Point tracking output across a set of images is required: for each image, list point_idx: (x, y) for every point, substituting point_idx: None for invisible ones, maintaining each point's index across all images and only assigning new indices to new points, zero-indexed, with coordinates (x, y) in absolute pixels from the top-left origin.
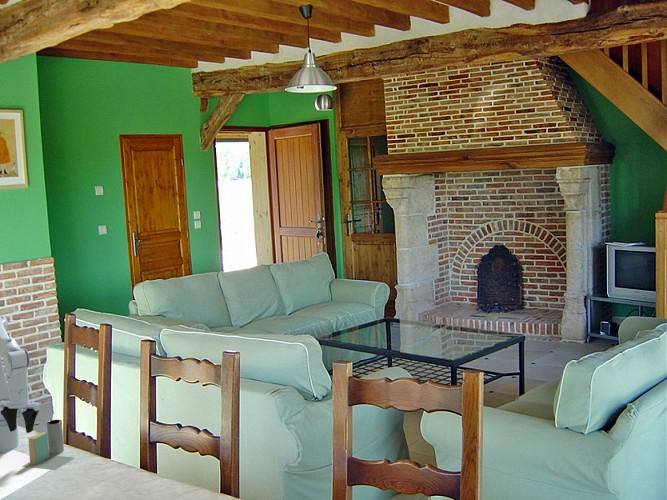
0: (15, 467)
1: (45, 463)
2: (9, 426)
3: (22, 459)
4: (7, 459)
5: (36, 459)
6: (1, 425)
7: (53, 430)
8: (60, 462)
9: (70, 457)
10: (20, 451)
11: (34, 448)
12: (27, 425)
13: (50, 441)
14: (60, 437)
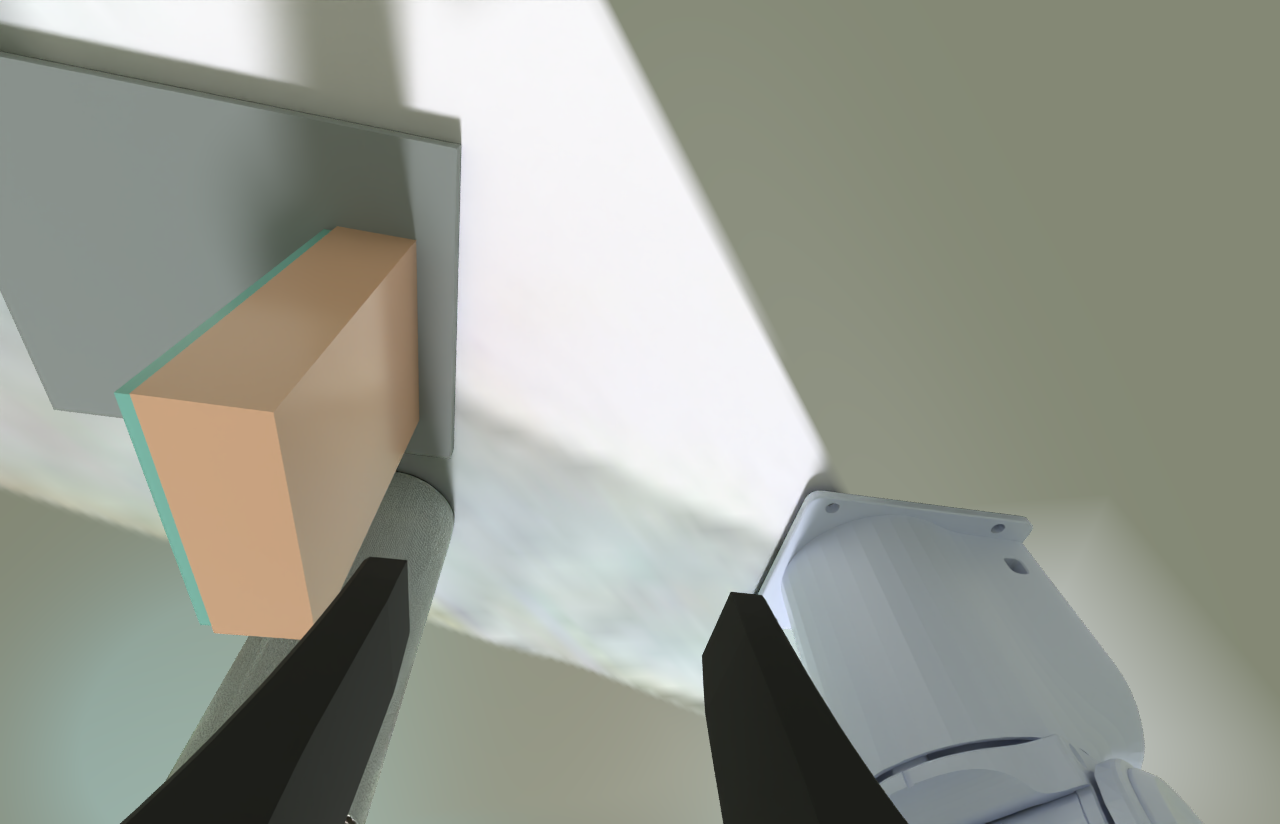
0: (557, 163)
1: (234, 249)
2: (781, 673)
3: (612, 377)
4: (763, 372)
5: (300, 247)
6: (990, 747)
7: (241, 693)
8: (84, 285)
9: (115, 411)
10: (728, 523)
11: (240, 308)
12: (265, 691)
13: (351, 571)
14: None
